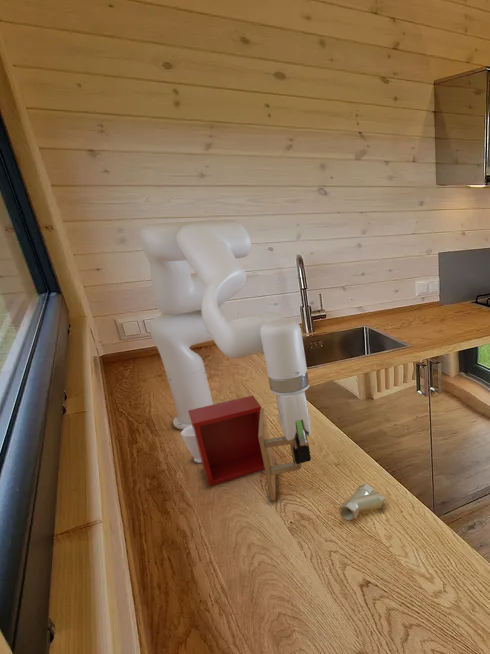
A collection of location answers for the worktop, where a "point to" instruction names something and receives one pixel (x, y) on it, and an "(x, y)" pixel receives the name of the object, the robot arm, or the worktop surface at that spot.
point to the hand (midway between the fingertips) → (302, 459)
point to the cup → (191, 443)
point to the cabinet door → (267, 454)
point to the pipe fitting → (361, 502)
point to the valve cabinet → (228, 439)
